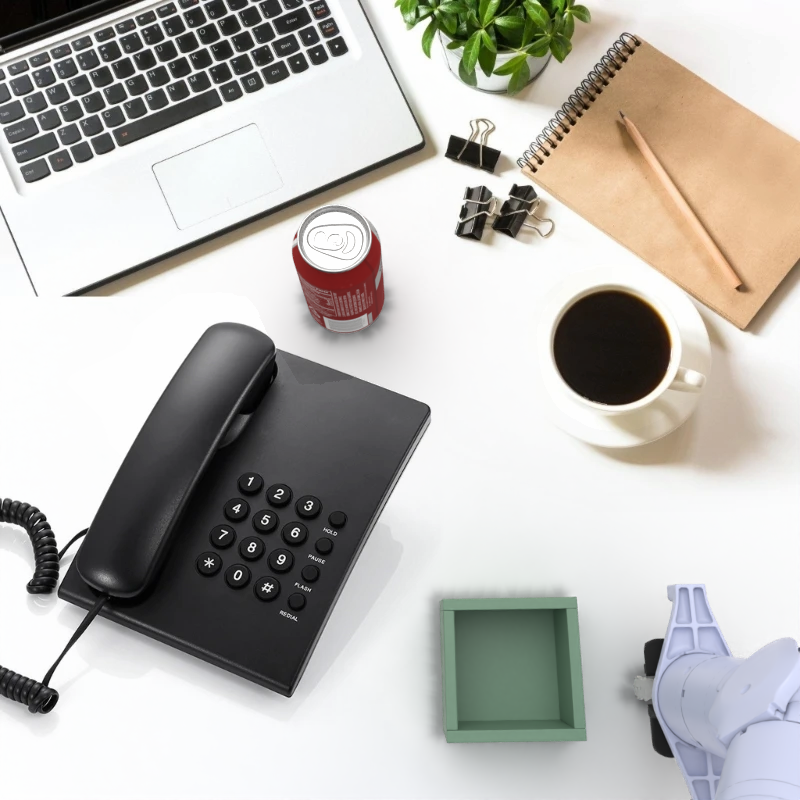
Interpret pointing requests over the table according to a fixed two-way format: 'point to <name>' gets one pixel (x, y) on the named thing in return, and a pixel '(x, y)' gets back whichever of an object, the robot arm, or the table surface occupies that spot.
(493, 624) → the bin
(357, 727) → the table surface
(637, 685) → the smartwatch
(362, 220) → the soda can
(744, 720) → the robot arm
